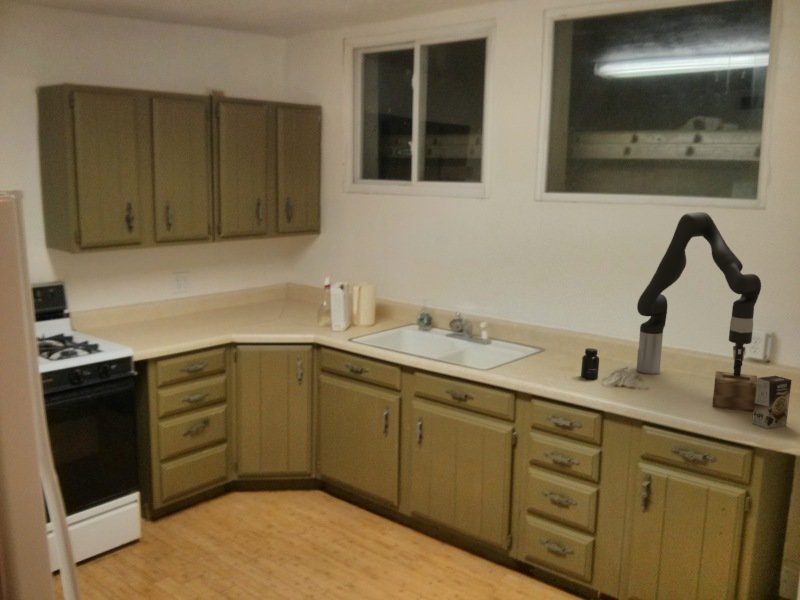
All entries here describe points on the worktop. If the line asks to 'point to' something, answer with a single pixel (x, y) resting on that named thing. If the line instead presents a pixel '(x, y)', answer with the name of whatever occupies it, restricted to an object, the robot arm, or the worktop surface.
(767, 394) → the coffee box
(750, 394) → the box
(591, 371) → the supplement bottle
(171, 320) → the worktop surface
